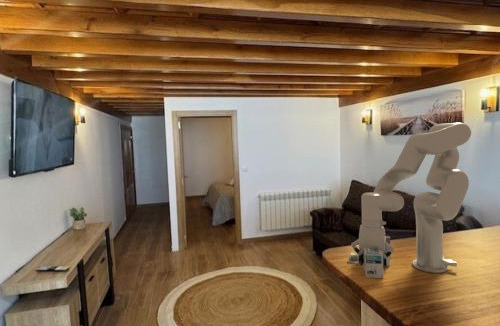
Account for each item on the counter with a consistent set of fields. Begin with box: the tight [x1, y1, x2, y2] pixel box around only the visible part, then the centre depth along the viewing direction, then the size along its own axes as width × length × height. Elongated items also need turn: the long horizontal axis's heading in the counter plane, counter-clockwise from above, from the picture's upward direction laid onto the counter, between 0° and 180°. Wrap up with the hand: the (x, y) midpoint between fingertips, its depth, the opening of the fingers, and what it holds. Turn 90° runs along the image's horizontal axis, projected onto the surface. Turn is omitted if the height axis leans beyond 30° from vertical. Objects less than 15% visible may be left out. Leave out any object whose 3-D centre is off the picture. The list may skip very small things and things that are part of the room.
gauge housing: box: [347, 235, 391, 265], centre depth 136 cm, size 17×12×10 cm
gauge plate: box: [348, 247, 391, 267], centre depth 132 cm, size 16×1×9 cm, turn 63°
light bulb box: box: [362, 248, 385, 279], centre depth 123 cm, size 11×7×11 cm, turn 167°
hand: (372, 265), depth 124 cm, fingers closed on light bulb box, 7 cm apart
